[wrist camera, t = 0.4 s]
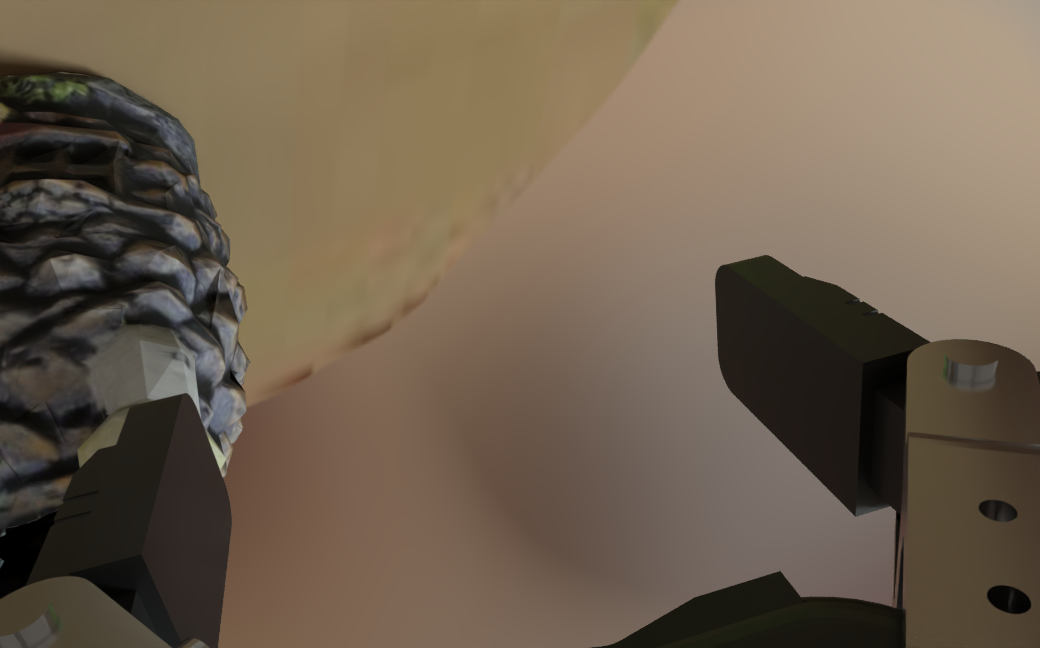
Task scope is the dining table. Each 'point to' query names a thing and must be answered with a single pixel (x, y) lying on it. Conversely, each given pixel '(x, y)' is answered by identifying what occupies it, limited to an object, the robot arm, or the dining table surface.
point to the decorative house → (101, 291)
